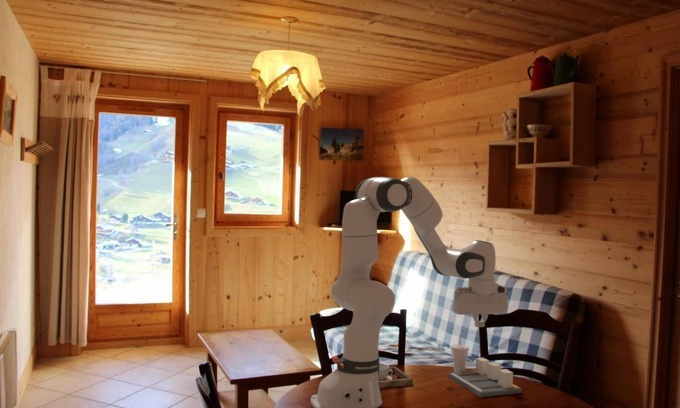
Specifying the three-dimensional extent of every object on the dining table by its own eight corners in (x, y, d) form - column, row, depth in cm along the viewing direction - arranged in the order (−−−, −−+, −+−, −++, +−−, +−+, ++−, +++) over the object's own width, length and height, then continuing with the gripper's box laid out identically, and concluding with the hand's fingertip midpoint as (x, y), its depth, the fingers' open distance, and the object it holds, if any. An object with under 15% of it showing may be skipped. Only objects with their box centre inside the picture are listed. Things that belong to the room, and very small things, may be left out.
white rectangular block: (493, 380, 191) (493, 366, 191) (486, 376, 195) (487, 362, 195) (500, 379, 192) (500, 365, 192) (493, 376, 196) (494, 362, 196)
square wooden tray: (372, 388, 186) (372, 382, 186) (357, 374, 200) (357, 369, 200) (412, 384, 190) (412, 379, 190) (394, 371, 204) (395, 366, 204)
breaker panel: (480, 397, 180) (480, 377, 180) (448, 377, 200) (448, 359, 200) (521, 392, 185) (522, 373, 185) (486, 373, 205) (486, 356, 205)
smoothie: (448, 373, 204) (449, 335, 204) (453, 368, 210) (454, 332, 210) (465, 376, 201) (466, 338, 201) (470, 371, 207) (471, 334, 207)
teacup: (362, 382, 192) (362, 368, 192) (367, 373, 202) (367, 361, 202) (390, 385, 190) (390, 371, 190) (394, 376, 200) (394, 363, 200)
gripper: (459, 288, 185) (457, 329, 185) (511, 288, 192) (509, 327, 191) (450, 285, 191) (448, 325, 191) (500, 285, 198) (498, 324, 197)
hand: (479, 326), depth 191 cm, fingers closed
